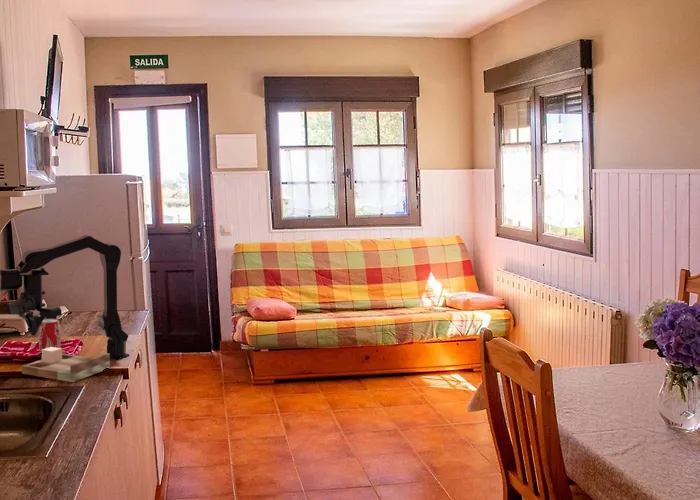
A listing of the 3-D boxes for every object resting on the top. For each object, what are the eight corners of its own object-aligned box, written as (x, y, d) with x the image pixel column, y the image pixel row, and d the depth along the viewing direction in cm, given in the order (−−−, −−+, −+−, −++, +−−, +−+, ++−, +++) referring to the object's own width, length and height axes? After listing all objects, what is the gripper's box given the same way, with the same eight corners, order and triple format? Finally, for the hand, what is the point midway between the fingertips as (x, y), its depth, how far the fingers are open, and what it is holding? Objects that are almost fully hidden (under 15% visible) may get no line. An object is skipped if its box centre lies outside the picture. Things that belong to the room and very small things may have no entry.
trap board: (60, 360, 275) (60, 346, 274) (109, 368, 268) (109, 353, 267) (22, 373, 258) (21, 358, 258) (73, 382, 251) (72, 366, 251)
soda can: (53, 357, 279) (53, 323, 277) (34, 355, 280) (34, 321, 279) (64, 352, 286) (64, 319, 284) (46, 350, 287) (46, 317, 285)
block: (51, 358, 268) (50, 346, 267) (61, 360, 266) (61, 348, 266) (41, 361, 264) (41, 349, 263) (52, 363, 262) (52, 351, 262)
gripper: (-9, 289, 260) (-8, 337, 262) (38, 295, 254) (38, 344, 256) (17, 284, 271) (18, 330, 273) (62, 290, 264) (62, 336, 266)
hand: (33, 335), depth 267 cm, fingers closed
